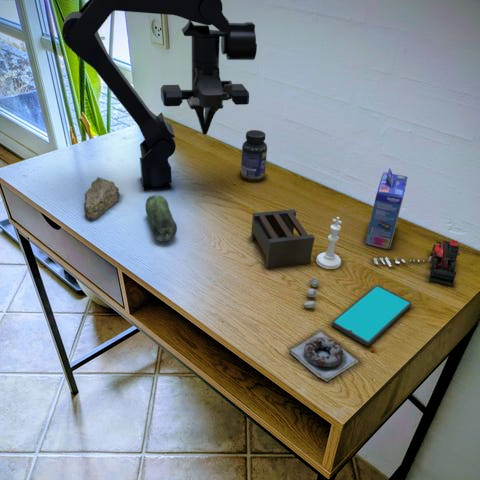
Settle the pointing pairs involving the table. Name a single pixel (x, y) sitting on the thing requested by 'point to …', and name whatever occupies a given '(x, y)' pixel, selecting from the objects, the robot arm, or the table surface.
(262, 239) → the rack
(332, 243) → the chess piece
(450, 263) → the loader
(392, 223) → the ink cartridge box
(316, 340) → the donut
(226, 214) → the table surface
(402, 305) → the smartphone
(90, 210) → the stone
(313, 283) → the game pieces
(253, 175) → the pill bottle
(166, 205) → the vegetable
